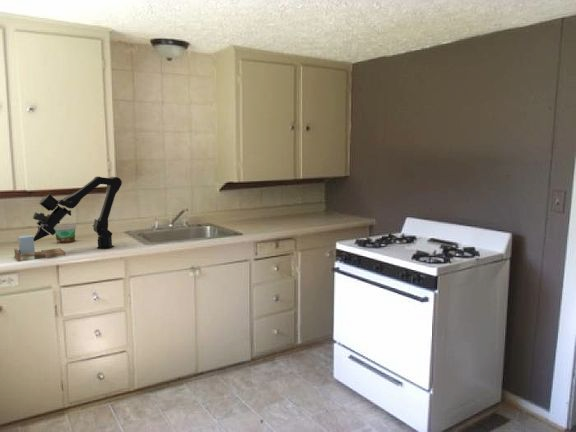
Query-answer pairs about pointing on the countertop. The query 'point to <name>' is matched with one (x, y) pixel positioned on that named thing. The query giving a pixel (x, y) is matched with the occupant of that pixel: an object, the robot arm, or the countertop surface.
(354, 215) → the countertop surface
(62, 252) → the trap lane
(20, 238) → the blue-grey block
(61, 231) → the food container
